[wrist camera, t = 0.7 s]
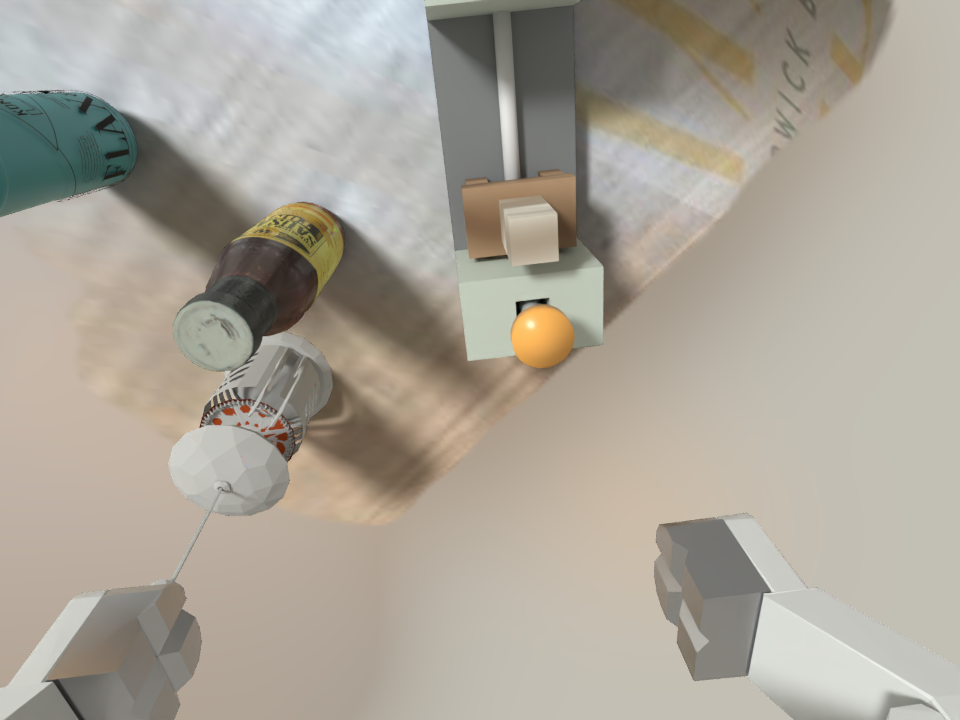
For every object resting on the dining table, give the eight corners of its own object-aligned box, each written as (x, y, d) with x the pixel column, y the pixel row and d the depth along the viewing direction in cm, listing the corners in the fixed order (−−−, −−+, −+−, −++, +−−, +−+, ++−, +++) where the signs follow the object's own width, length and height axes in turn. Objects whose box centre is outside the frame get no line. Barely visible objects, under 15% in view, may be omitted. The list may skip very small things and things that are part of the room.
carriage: (459, 180, 42) (465, 206, 33) (563, 168, 42) (598, 192, 33) (466, 244, 44) (474, 285, 35) (565, 233, 44) (597, 271, 35)
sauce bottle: (344, 199, 44) (283, 279, 26) (349, 274, 47) (296, 391, 29) (260, 196, 43) (140, 275, 26) (270, 272, 46) (167, 390, 29)
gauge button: (500, 282, 40) (510, 315, 34) (554, 276, 40) (574, 307, 34) (504, 332, 41) (514, 371, 36) (556, 326, 42) (575, 364, 36)
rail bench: (419, -46, 37) (414, -86, 28) (565, -61, 37) (606, -105, 28) (462, 310, 49) (467, 361, 40) (572, 297, 49) (603, 345, 40)
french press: (206, 392, 51) (28, 633, 29) (261, 294, 47) (104, 484, 25) (303, 439, 54) (209, 689, 32) (362, 350, 50) (303, 565, 28)
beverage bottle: (160, 183, 42) (-40, 257, 25) (70, 182, 42) (-199, 257, 24) (137, 89, 40) (-108, 96, 22) (40, 87, 39) (-291, 94, 21)
